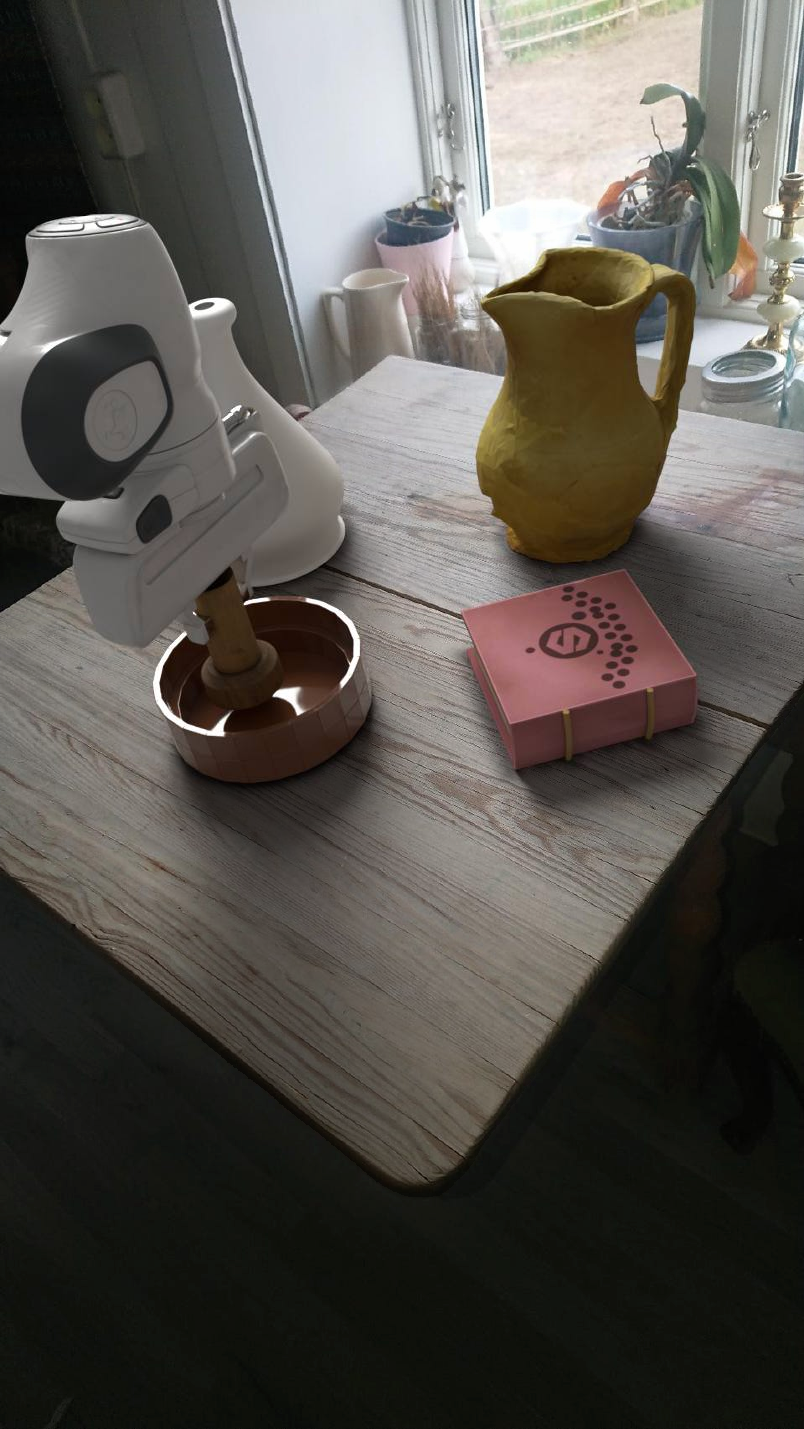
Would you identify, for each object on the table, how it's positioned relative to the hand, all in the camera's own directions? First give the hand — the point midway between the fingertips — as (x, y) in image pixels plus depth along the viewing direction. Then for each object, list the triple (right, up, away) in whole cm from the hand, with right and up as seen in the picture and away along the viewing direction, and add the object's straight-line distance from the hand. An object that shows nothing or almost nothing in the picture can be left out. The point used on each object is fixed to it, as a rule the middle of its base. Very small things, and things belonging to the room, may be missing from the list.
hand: (222, 618), depth 77 cm
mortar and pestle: (+1, -5, +5) cm, 7 cm away
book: (+28, -6, +3) cm, 29 cm away
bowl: (+3, -8, +6) cm, 10 cm away
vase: (+1, +10, +26) cm, 28 cm away
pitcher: (+32, +11, +19) cm, 39 cm away
